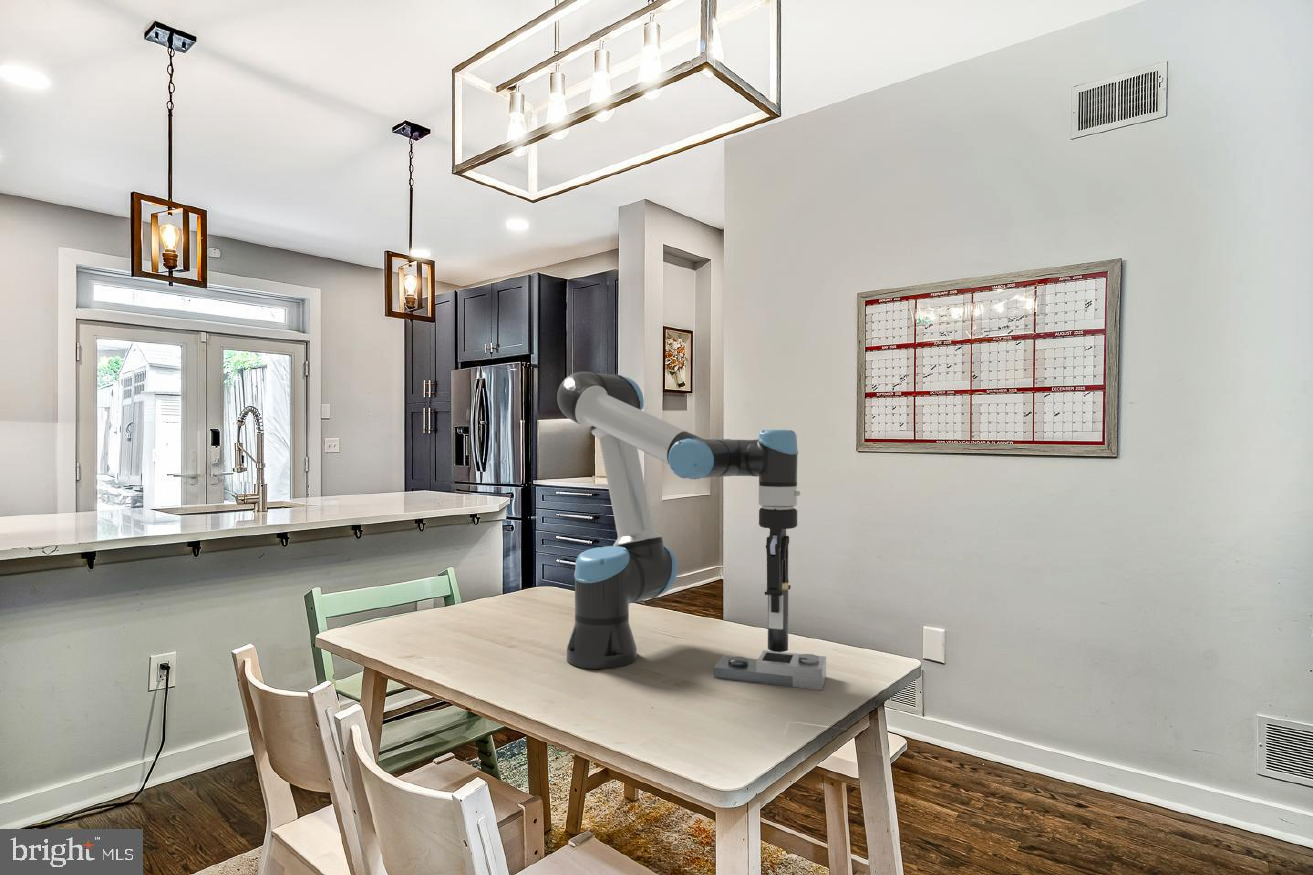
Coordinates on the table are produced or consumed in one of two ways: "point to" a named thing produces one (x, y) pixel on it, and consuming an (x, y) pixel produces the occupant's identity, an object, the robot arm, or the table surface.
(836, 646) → the table surface
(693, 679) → the table surface
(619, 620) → the robot arm
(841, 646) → the table surface
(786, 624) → the pin
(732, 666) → the metal block with stud
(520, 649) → the table surface
